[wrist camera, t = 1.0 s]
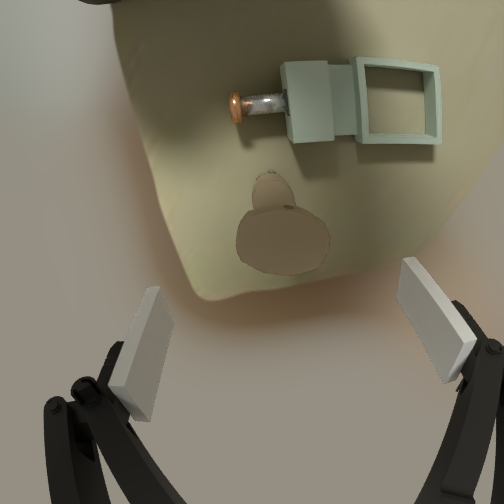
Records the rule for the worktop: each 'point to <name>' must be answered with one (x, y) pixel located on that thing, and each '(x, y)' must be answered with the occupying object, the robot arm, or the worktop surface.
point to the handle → (280, 231)
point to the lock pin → (256, 105)
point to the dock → (350, 101)
